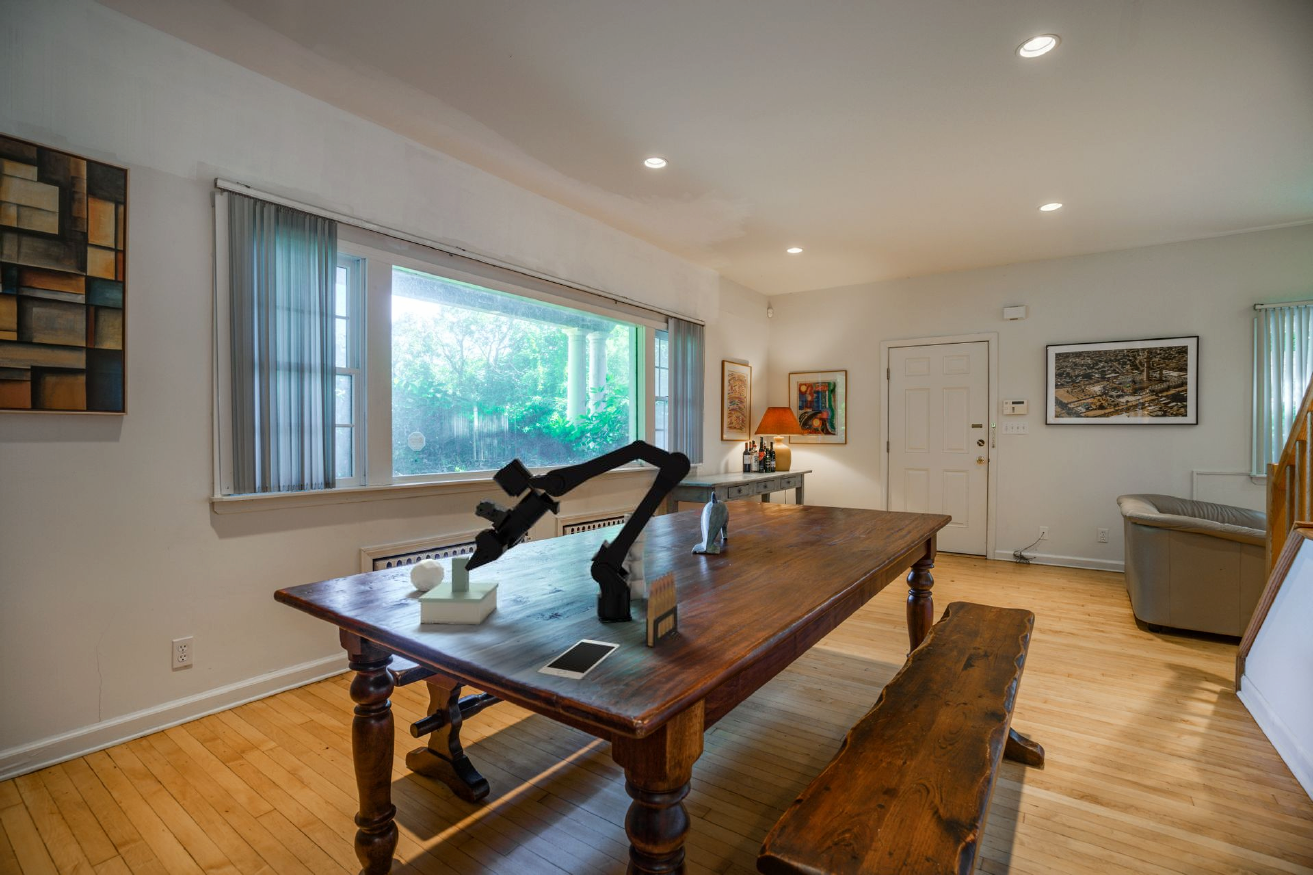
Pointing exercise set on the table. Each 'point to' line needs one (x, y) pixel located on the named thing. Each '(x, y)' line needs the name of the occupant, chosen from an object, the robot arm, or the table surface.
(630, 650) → the table surface
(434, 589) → the lid
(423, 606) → the tub
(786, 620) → the table surface
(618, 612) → the robot arm
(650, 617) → the ammunition clip
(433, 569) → the geometric ball
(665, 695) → the table surface
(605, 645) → the cell phone
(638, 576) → the plastic bottle
